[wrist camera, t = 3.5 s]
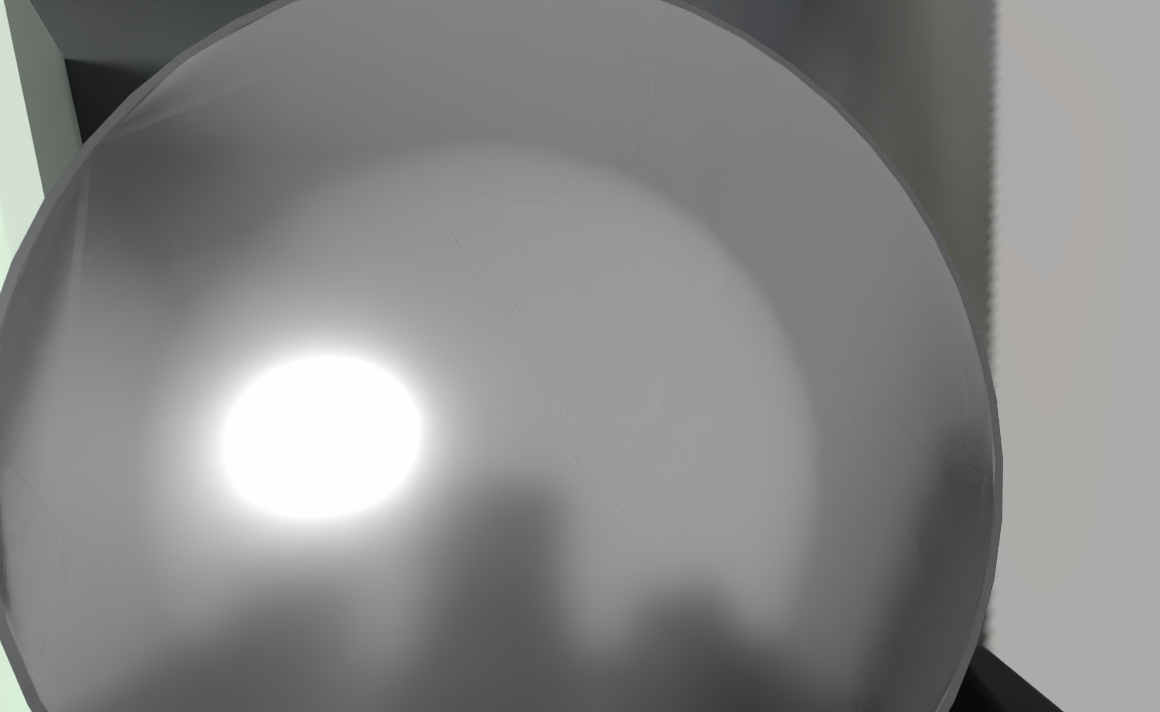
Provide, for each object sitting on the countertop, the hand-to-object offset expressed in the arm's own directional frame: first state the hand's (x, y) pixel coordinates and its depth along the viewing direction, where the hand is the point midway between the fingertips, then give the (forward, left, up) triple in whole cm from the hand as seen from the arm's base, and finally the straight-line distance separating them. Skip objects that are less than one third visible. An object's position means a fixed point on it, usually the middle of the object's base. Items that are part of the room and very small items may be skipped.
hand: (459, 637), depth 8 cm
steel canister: (+1, 0, -9) cm, 9 cm away
